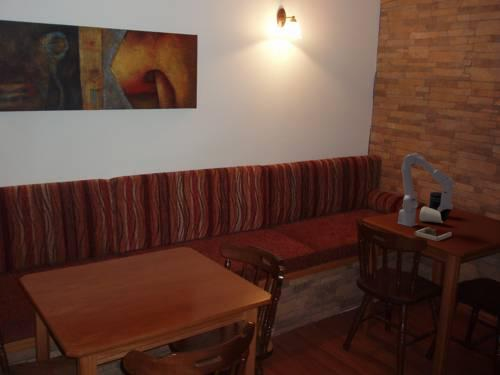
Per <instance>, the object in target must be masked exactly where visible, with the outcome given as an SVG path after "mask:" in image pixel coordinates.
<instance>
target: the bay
mask: <svg viewBox="0 0 500 375" xmlns="http://www.w3.org/2000/svg"><path fill="white" fill-rule="evenodd" d="M429 227H430V228H432V227H431V226H427V227H424V228H421V229H418V230H416V231H414V234H413V235H414V236H417V237H420V238H424V239H428V240H430V241H431V240H432V241H435V242H439V241H441V240H445V239H447V238H450V237H451V236H452V235H453V234H452V233H453V232H451V231H449V232H446V233H444V234H440V235H438V236H436V237H435V236H432V235H428V234H425V229H426V228H429Z"/></svg>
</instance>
